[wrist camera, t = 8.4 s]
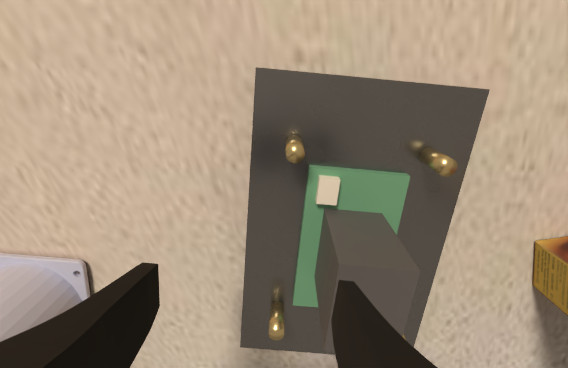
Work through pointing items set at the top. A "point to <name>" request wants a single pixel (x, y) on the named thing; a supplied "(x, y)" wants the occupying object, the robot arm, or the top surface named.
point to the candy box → (552, 270)
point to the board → (349, 198)
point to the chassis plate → (356, 155)
